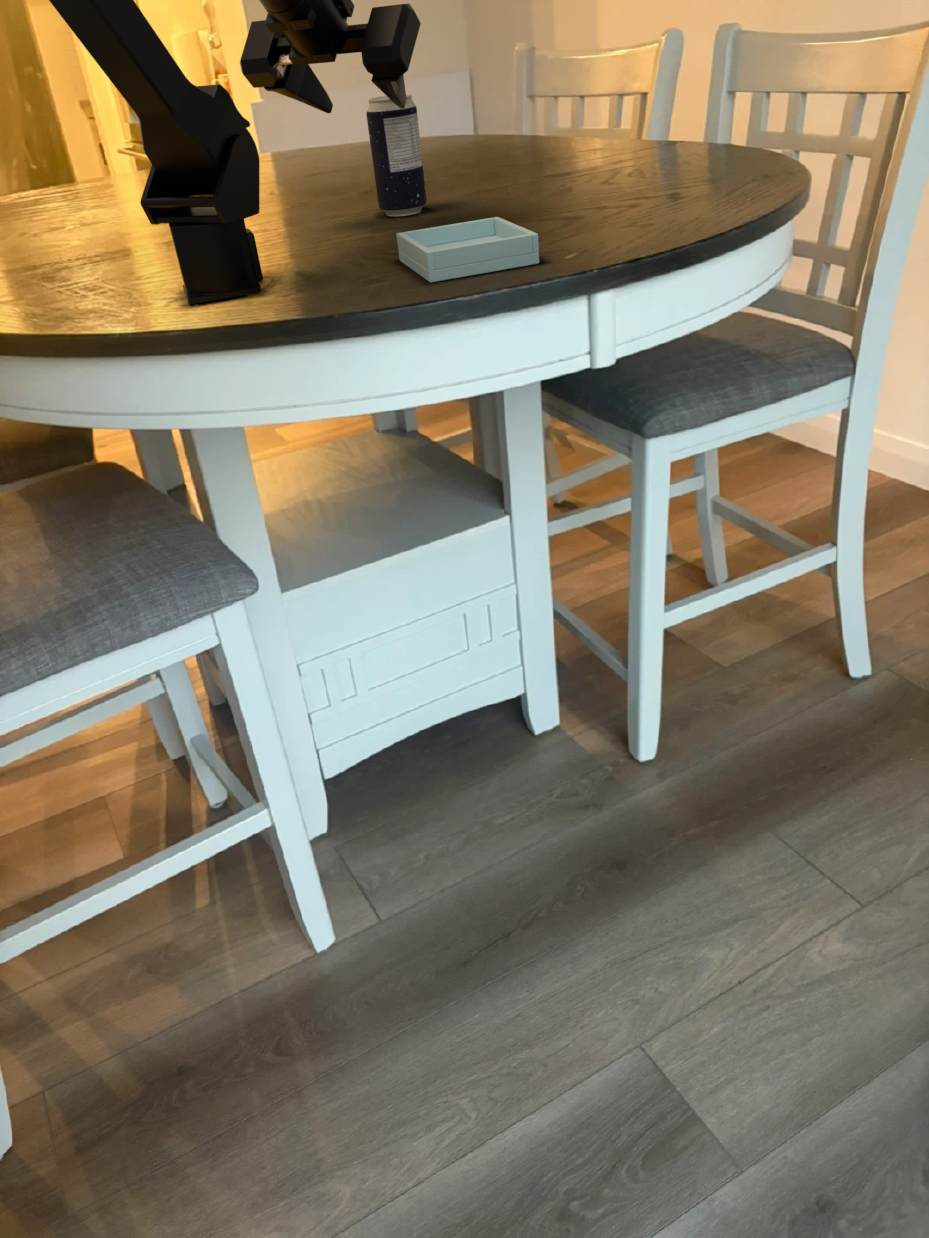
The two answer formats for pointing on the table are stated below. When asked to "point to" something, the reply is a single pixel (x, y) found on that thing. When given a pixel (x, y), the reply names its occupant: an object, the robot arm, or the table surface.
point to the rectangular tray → (467, 248)
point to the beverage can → (396, 156)
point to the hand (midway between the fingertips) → (366, 107)
